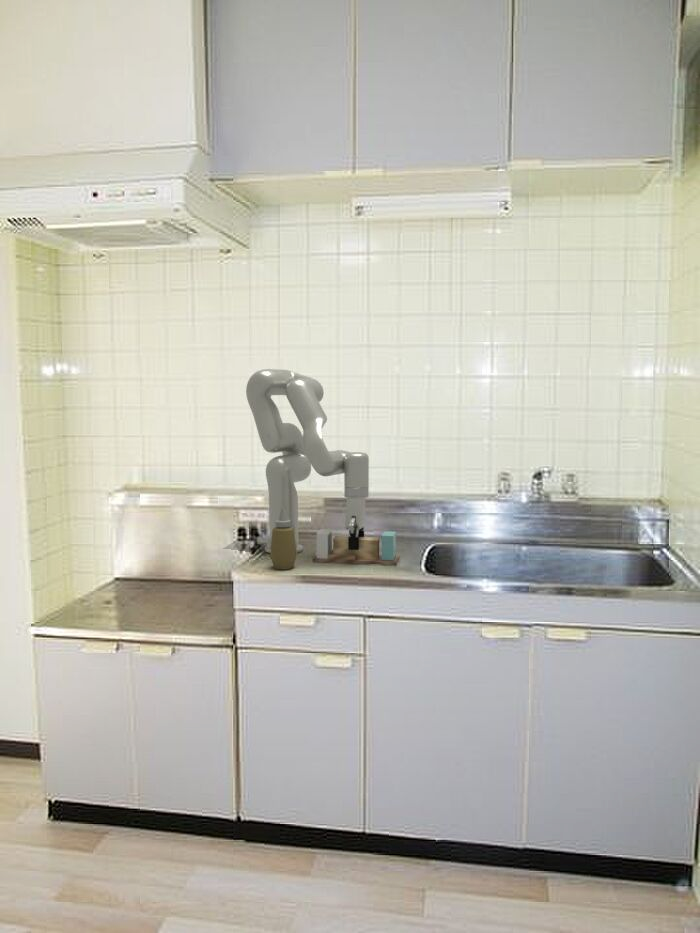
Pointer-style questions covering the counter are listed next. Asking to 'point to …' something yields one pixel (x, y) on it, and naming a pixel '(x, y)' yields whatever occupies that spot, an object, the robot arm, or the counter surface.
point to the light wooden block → (366, 547)
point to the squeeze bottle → (283, 543)
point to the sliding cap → (388, 545)
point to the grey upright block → (324, 543)
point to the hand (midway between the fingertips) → (356, 546)
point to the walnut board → (355, 560)
